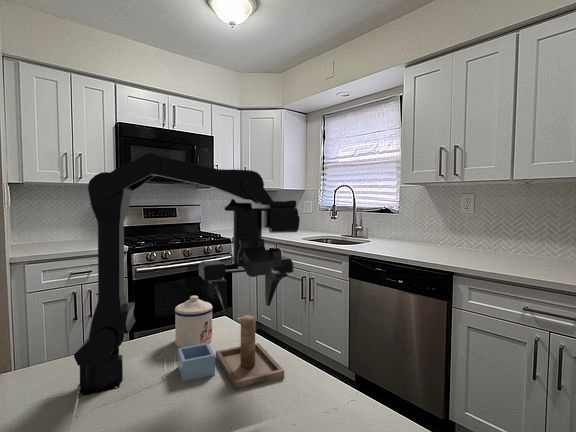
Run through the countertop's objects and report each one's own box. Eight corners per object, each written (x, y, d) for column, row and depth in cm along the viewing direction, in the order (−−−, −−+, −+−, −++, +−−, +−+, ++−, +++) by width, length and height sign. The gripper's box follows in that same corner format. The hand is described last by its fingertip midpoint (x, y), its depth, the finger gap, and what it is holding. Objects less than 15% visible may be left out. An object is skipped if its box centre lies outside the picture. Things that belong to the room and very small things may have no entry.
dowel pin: (243, 369, 66) (243, 321, 66) (238, 363, 69) (238, 316, 69) (257, 366, 68) (257, 318, 67) (252, 360, 70) (252, 314, 70)
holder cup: (182, 385, 62) (182, 361, 62) (177, 369, 68) (177, 348, 68) (215, 377, 65) (215, 355, 65) (207, 363, 71) (207, 343, 71)
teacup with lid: (207, 352, 76) (207, 302, 76) (168, 351, 76) (168, 301, 76) (219, 331, 88) (219, 288, 88) (185, 331, 88) (185, 288, 88)
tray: (234, 393, 60) (234, 382, 60) (215, 360, 72) (215, 351, 72) (284, 380, 64) (284, 370, 64) (258, 351, 77) (258, 342, 77)
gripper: (211, 239, 56) (211, 329, 56) (307, 235, 64) (306, 314, 65) (198, 233, 66) (198, 310, 66) (282, 230, 74) (281, 299, 75)
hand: (247, 308), depth 68 cm, fingers open, 9 cm apart
